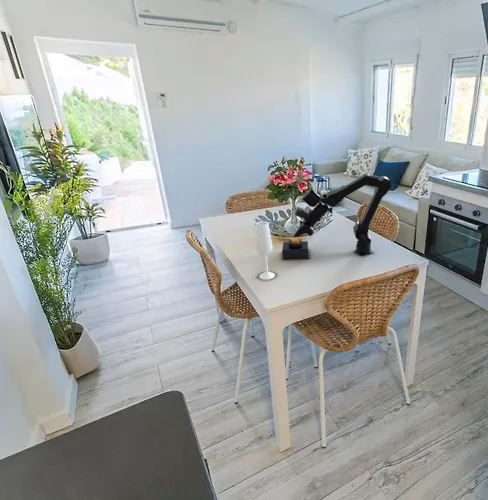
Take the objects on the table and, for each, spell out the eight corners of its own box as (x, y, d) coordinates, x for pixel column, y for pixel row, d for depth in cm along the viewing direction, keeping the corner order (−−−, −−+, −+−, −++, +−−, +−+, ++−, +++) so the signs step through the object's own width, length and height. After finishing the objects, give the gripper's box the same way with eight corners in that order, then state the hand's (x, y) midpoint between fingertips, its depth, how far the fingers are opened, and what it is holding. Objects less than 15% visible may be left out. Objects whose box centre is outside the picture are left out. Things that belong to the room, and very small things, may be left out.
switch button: (299, 241, 170) (298, 237, 169) (299, 243, 166) (298, 240, 166) (291, 241, 169) (291, 238, 169) (291, 244, 166) (291, 240, 165)
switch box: (308, 250, 176) (307, 237, 173) (308, 258, 167) (308, 245, 164) (284, 251, 174) (283, 238, 171) (283, 259, 165) (282, 246, 162)
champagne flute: (256, 275, 150) (250, 223, 140) (269, 270, 155) (264, 219, 145) (265, 281, 146) (260, 227, 136) (278, 275, 150) (274, 223, 141)
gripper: (304, 196, 169) (282, 218, 172) (305, 207, 152) (280, 232, 155) (321, 211, 173) (299, 233, 176) (323, 224, 156) (299, 247, 159)
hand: (294, 236), depth 166 cm, fingers closed
